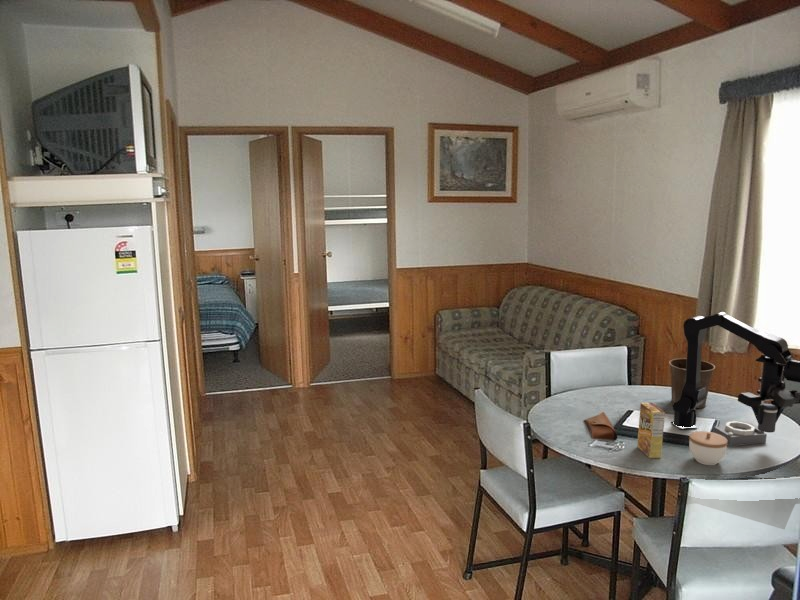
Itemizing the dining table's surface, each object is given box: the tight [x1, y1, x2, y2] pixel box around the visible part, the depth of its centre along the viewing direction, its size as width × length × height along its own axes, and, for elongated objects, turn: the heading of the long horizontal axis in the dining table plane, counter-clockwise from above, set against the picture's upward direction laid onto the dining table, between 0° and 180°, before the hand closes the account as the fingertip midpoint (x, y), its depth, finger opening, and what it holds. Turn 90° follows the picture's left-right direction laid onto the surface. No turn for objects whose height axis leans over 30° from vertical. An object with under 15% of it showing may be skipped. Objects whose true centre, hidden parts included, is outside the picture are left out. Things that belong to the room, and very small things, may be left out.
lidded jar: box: [688, 430, 729, 466], centre depth 198 cm, size 11×11×9 cm
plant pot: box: [668, 357, 716, 409], centre depth 247 cm, size 16×16×16 cm
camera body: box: [712, 420, 767, 447], centre depth 215 cm, size 13×9×4 cm
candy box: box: [636, 402, 666, 459], centre depth 204 cm, size 9×4×15 cm, turn 6°
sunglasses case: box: [583, 411, 618, 441], centre depth 224 cm, size 18×7×7 cm
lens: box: [757, 402, 778, 434], centre depth 206 cm, size 5×5×8 cm
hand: (766, 423), depth 206 cm, fingers closed on lens, 5 cm apart
